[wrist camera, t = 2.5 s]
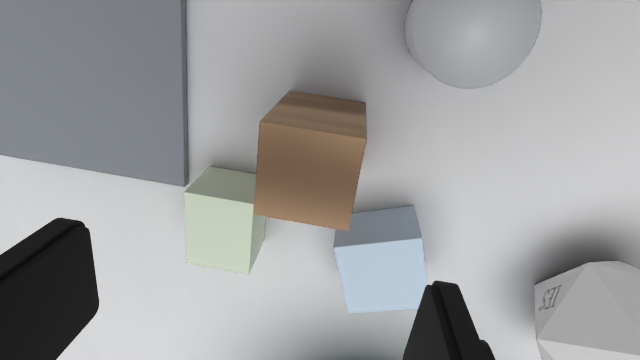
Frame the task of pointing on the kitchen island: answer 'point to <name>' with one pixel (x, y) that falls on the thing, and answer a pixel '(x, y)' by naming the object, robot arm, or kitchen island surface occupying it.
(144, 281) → the kitchen island surface
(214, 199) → the sage block
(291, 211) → the walnut block
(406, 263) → the dusty blue cube
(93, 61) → the slate mat
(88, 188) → the kitchen island surface
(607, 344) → the die
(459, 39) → the grey rounded piece
